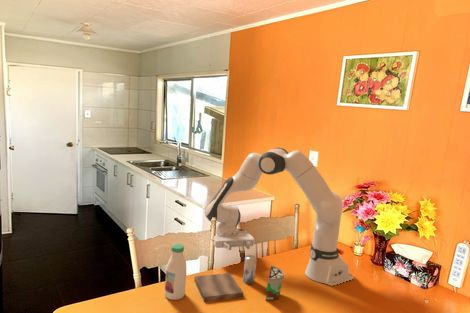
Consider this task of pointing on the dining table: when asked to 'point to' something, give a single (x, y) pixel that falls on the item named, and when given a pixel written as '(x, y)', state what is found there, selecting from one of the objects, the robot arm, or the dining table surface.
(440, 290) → the dining table surface
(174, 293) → the milk bottle
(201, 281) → the walnut board
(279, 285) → the food container
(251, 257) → the silver can
